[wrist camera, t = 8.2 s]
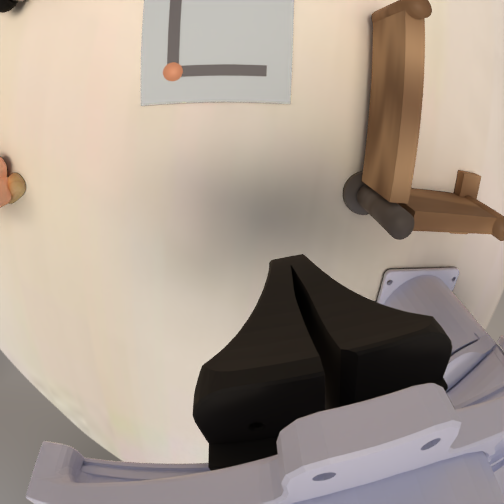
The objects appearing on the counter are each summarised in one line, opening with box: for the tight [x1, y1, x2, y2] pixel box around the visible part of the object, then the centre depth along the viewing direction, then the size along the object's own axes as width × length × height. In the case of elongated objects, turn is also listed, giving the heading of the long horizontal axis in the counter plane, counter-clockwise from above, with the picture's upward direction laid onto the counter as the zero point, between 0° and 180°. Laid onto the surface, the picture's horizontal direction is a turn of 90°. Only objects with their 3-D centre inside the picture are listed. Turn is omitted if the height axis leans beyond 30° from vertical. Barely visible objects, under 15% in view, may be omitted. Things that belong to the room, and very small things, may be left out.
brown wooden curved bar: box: [357, 0, 432, 240], centre depth 15 cm, size 14×2×5 cm, turn 178°
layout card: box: [141, 0, 294, 106], centre depth 15 cm, size 9×9×1 cm
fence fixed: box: [343, 170, 504, 241], centre depth 18 cm, size 5×12×6 cm, turn 88°
